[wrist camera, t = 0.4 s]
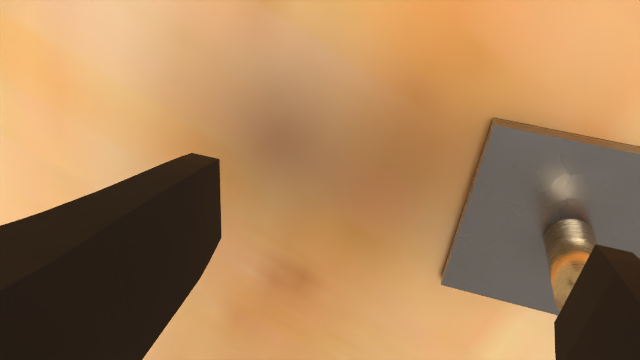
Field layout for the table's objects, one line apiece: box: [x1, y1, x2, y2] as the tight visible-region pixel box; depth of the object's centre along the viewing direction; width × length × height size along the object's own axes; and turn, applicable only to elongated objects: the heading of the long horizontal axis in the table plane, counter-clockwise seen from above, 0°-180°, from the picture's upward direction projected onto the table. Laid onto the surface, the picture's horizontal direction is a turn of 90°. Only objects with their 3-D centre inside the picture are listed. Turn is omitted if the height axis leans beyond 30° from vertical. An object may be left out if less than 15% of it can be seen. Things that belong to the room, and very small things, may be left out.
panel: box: [441, 118, 640, 315], centre depth 18 cm, size 8×8×4 cm
